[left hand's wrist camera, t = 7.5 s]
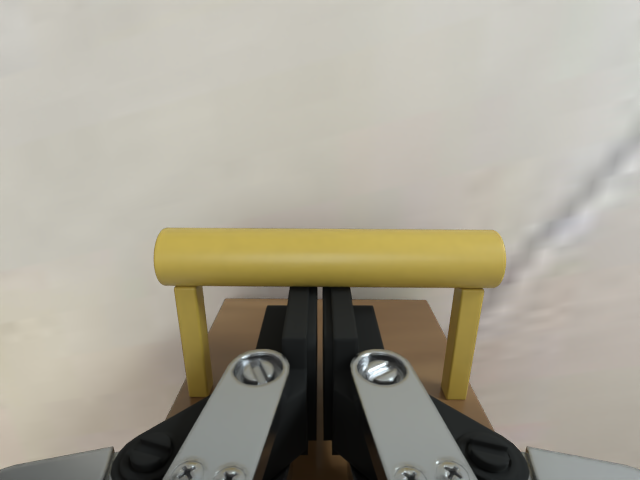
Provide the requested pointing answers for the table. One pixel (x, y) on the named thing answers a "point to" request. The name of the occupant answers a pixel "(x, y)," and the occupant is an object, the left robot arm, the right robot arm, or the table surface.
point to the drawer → (322, 271)
